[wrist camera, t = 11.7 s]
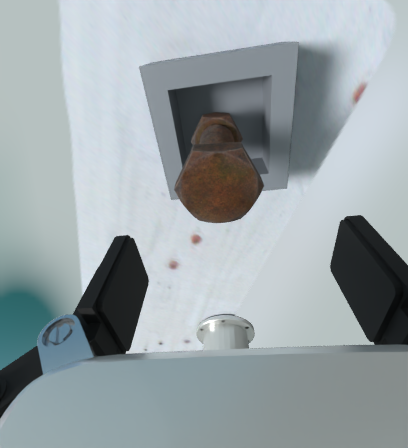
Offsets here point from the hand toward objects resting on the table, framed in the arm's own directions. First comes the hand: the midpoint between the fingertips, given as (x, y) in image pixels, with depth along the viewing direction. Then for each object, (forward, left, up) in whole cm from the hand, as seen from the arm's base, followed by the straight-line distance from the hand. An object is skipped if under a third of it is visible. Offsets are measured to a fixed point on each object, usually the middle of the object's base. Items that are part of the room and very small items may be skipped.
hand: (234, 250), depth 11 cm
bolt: (0, +1, -20) cm, 20 cm away
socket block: (+1, 0, -21) cm, 21 cm away
